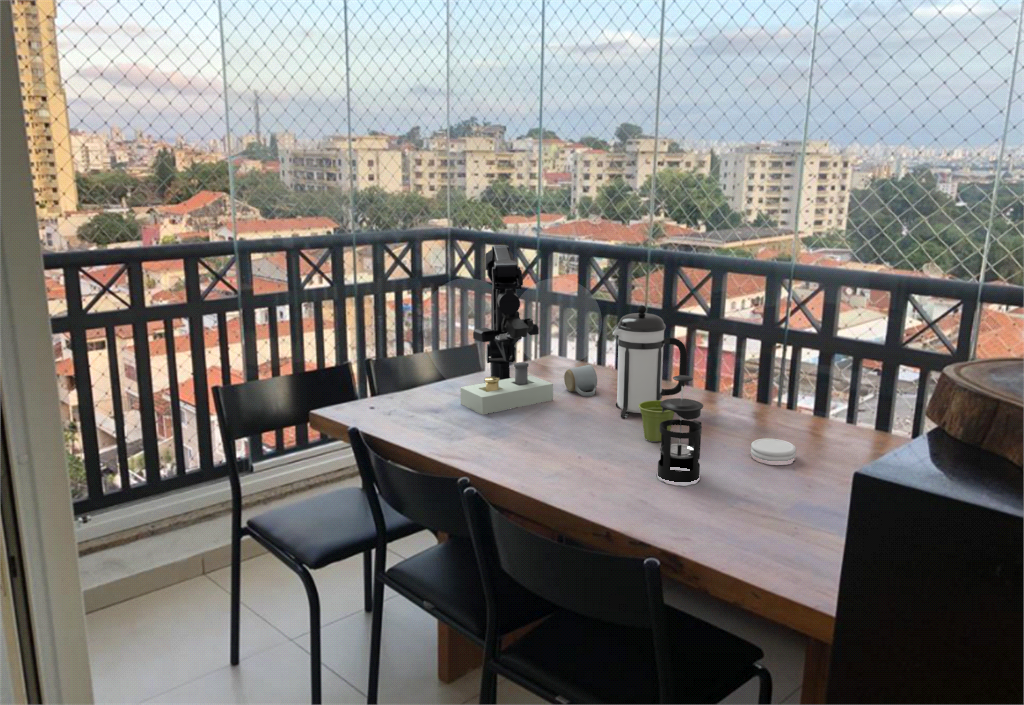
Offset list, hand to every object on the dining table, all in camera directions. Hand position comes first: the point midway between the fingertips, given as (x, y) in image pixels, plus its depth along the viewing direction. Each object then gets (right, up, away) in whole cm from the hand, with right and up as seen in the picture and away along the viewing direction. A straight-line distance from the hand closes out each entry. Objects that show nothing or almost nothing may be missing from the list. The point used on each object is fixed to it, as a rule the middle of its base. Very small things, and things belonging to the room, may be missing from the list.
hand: (506, 361), depth 225 cm
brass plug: (-4, -12, 0) cm, 13 cm away
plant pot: (+38, -19, -28) cm, 51 cm away
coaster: (+62, -23, -41) cm, 78 cm away
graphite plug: (+4, -8, +5) cm, 10 cm away
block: (0, -12, +3) cm, 12 cm away
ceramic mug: (+23, -10, +13) cm, 28 cm away
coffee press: (+38, -14, -7) cm, 41 cm away
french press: (+38, -25, -52) cm, 69 cm away
